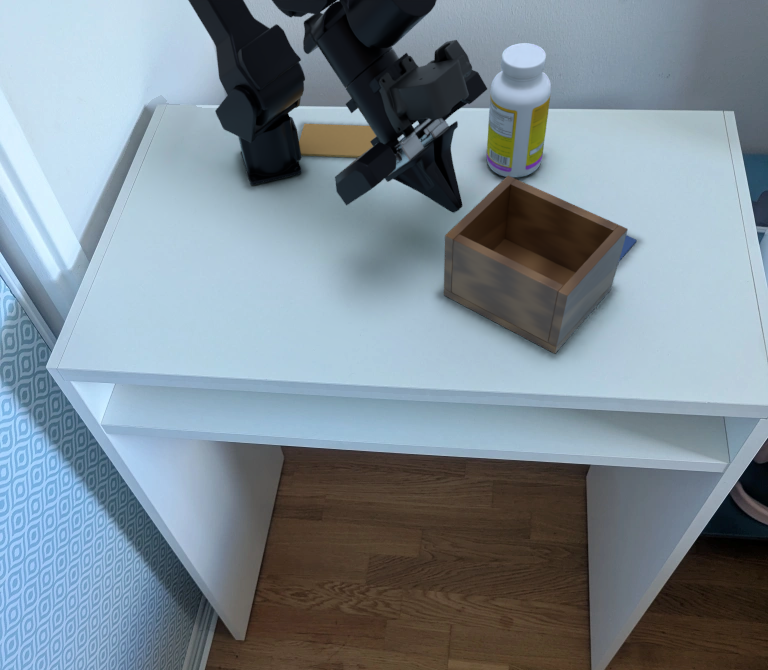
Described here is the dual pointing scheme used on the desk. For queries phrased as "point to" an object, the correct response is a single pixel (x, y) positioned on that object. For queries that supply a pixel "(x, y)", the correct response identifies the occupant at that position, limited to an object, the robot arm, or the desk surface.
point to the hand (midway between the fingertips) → (458, 209)
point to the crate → (531, 262)
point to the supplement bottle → (518, 111)
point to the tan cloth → (335, 140)
